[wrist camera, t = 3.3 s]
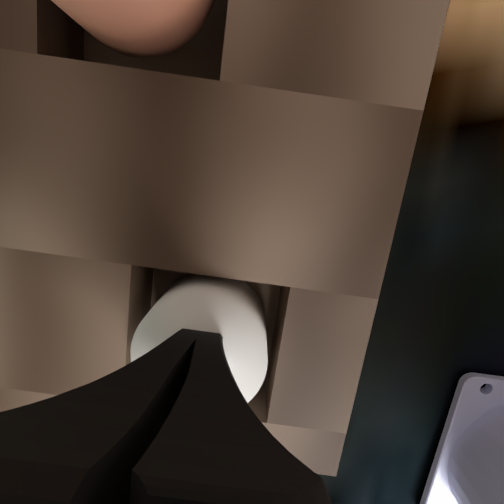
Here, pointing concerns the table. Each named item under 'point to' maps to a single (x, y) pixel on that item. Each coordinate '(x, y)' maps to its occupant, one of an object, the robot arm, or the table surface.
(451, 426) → the robot arm
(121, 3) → the terracotta button
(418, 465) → the table surface
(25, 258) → the button panel
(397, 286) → the table surface
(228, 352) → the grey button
